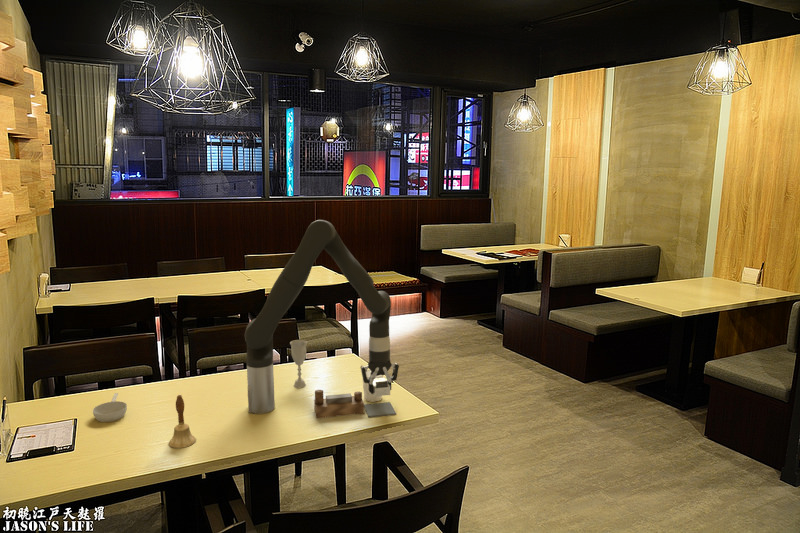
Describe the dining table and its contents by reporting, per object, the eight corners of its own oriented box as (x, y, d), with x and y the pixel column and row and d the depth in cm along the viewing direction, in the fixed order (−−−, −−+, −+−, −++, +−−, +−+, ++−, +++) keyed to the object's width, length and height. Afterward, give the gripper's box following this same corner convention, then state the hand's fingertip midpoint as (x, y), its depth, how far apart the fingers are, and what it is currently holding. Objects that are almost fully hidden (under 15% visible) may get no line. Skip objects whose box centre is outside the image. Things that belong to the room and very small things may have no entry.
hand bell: (200, 442, 187) (197, 395, 184) (175, 451, 181) (171, 403, 178) (189, 433, 193) (186, 388, 190) (164, 441, 187) (160, 395, 184)
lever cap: (370, 386, 213) (370, 375, 212) (384, 385, 215) (384, 374, 214) (375, 396, 205) (374, 385, 204) (390, 394, 206) (390, 383, 205)
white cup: (382, 402, 217) (382, 377, 216) (361, 402, 218) (361, 377, 216) (383, 394, 225) (383, 369, 223) (363, 393, 225) (363, 369, 224)
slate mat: (368, 417, 205) (368, 415, 205) (363, 405, 214) (363, 404, 214) (396, 414, 207) (396, 413, 207) (390, 403, 217) (390, 401, 217)
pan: (90, 425, 198) (89, 414, 198) (101, 404, 215) (100, 394, 215) (124, 421, 201) (123, 411, 201) (132, 401, 218) (132, 391, 218)
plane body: (316, 418, 204) (315, 395, 202) (314, 410, 211) (313, 387, 209) (364, 413, 208) (363, 391, 206) (360, 405, 215) (360, 383, 213)
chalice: (290, 383, 236) (288, 340, 232) (307, 381, 238) (305, 339, 234) (292, 389, 229) (291, 346, 226) (309, 387, 231) (308, 344, 228)
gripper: (396, 342, 212) (396, 386, 215) (357, 345, 208) (358, 390, 212) (401, 349, 205) (401, 394, 208) (361, 352, 201) (362, 398, 204)
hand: (379, 392), depth 210 cm, fingers closed on lever cap, 5 cm apart
